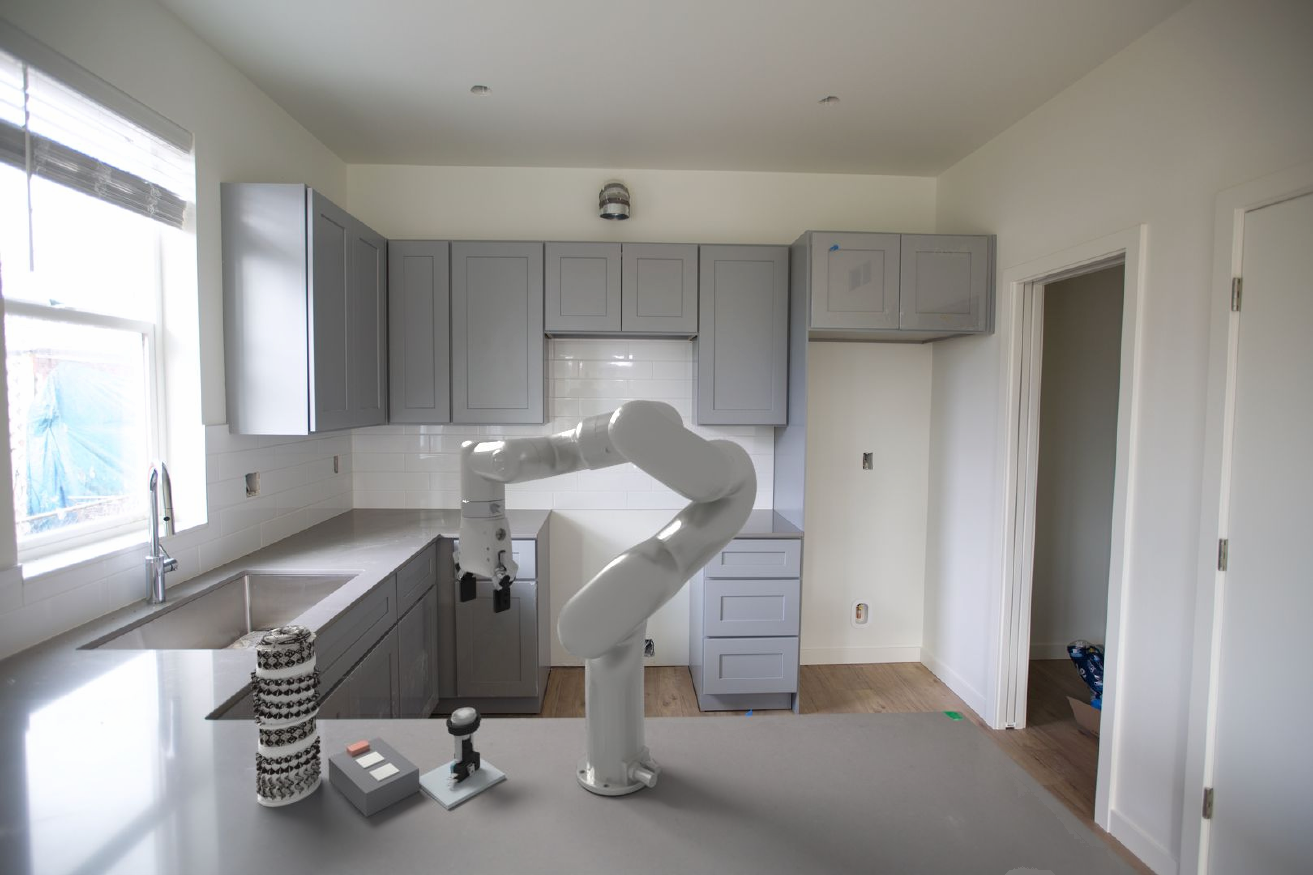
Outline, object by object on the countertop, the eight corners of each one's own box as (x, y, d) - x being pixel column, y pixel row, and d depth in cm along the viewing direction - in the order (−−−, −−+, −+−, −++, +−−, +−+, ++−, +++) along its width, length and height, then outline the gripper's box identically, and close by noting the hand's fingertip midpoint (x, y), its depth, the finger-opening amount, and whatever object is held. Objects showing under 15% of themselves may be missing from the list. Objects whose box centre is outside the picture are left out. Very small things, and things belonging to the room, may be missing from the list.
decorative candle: (239, 800, 88) (234, 637, 88) (296, 766, 97) (292, 617, 96) (281, 814, 85) (276, 645, 84) (336, 778, 94) (332, 624, 93)
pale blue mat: (505, 777, 93) (505, 774, 93) (447, 809, 86) (447, 805, 86) (471, 754, 100) (471, 751, 100) (414, 782, 92) (414, 778, 92)
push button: (462, 792, 89) (461, 727, 88) (434, 785, 91) (432, 722, 90) (489, 768, 95) (487, 707, 95) (462, 761, 97) (461, 702, 97)
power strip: (420, 789, 90) (420, 762, 90) (366, 817, 84) (365, 788, 84) (380, 756, 100) (380, 731, 99) (328, 779, 93) (328, 752, 93)
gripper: (532, 511, 100) (533, 609, 101) (472, 503, 111) (473, 592, 111) (496, 517, 94) (497, 621, 95) (436, 507, 105) (437, 601, 105)
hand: (484, 605), depth 103 cm, fingers open, 9 cm apart
